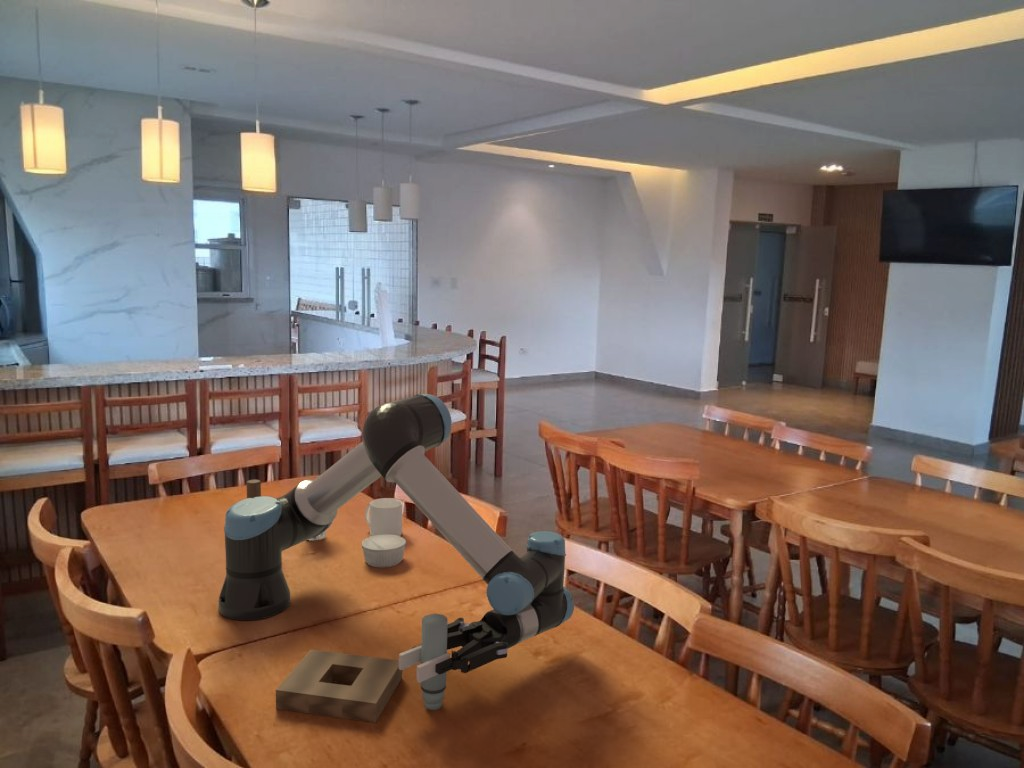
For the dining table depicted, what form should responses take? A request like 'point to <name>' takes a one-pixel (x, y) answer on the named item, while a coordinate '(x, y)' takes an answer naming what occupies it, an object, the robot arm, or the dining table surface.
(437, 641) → the grey rounded cylinder
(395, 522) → the mug
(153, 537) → the dining table surface
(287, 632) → the dining table surface
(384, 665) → the board
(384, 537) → the ramekin
